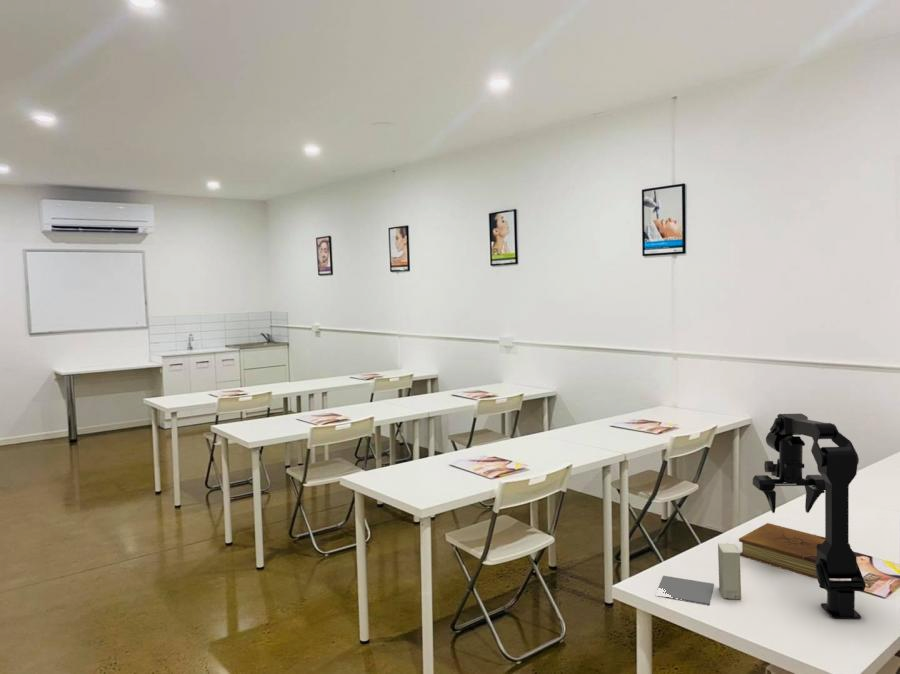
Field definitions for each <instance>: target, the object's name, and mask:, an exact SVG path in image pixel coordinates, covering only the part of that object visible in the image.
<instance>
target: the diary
mask: <svg viewBox="0 0 900 674" xmlns="http://www.w3.org/2000/svg"><path fill="white" fill-rule="evenodd" d="M824 541H825V536H821V535H816V534H813V533H808V532H805V531H801V530H796V529H793V528H789V527H785V526H781V525H776V524H774V523H769V522H767V523H765V524H763V525H761V526H759V527H758V528H755V529H754V530H752V531H749V532H748V533H746V534H745V535H743V536H740V537H739V538H738V542H740V543H741V544H742V545H741V546H742V549H741V551H742V552H741V551H740V557H743V558H746V559H749V558H750V560H753V559H754V560H753V561H756V560H757V561H756V562H759V561H761V562H760V563H764V564H766V563H767V564H766V565H769V564H771V565H770V566H774V567H776V566H777V568H779V567H780V569H783V570H787V571H789V572H793V573H796V574H800V575H803V576H807V577H809V578H813V579H816V580H818V579H817V572H816V566H815V563H816V557H817V548H816V547H817V545H818V544H822V543H823V542H824ZM849 546H850V547H851V544H850V543H849Z"/></svg>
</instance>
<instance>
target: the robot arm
mask: <svg viewBox="0 0 900 674" xmlns="http://www.w3.org/2000/svg"><path fill="white" fill-rule="evenodd" d="M808 417H809V416H807V415H806V414H803V413H778V414H777V415H776V417H775V419H774V421H773V423H772V425H771V426H770V429H769V432H768V433H767V434H766V437H765V443H766V445H768V447H769V448H771V449H773V450H774V451H776V452H777V453H779V458H777V461H776V463H775V462H774V461H773V460H766V461H765V460H764V466H763V467H764V472H765V473H771V474H770V475H771V476H772V477H776V478H771V477H770V476H769V475H768V474H767V475H765V474H763V475H761V474H759V475H757V474H756V475H754V476H753V478H752V486H754V487H755V488H756V489H758V491H761V492H762V493H763V494H764V495H765V497H766V500H767V503H768V505H769V507H770V511H771V513H772V514H776V513H775V512H776V506H777V505H776V503H777V502H776V500H777V499H776V498H777V492H776V490H775V488H776V487H793V486H794V487H796V486H797V487H800V486H801V487H802V486H804V488H805V505H804V507H805V513H807V514H809V513H810V512H811V509H812V508H813V506H814V504H815V503H816V502H817V500H818V499H819V497H820V496H821V494H824V495H825V496H824V499H825V500H824V503H825V506H824V507H825V508H824V509H825V511H824V512H825V513H824V514H825V516H824V518H825V520H824V521H825V524H824V525H825V526H824V530H825V533H824V535H825V536H824V537H825V541H824V542H823V543H822V544H818V545H817V547H816V548H817V557H816V563H815V566H816V572H817V579H816V580H817V582H818V585H819V588H820V589H823V590H825V591H826V603H825V602H822V603H820V607H822V609H824V610H825V611H826V612H827V614H828V615H829V616H830V617H831V618H833V619H862V615H861V614H860V613H858V612H857V611H856V609H855V606H856V605H855V604H856V603H855V601H856V600H855V599H856V596H855V595H856V592H865V591H866V590H865V589H866V587H867V585H866V582H865V580H864V577H863V575H862V572H861V569H860V566H859V564H858V559H857V555H856V554H855V552H854V550H853V549H852V548H851V545H850V546H849V544H850V543H849V542H850V541H849V537H850V536H849V535H850V534H849V533H850V532H849V531H850V529H849V523H850V522H849V520H850V519H849V518H850V517H849V508H850V507H849V503H850V502H849V496H850V495H849V490H850V484H851V483H852V481H853V480H854V479H855V477H856V476H857V472H858V471H857V470H858V465H859V463H860V461H859V460H860V459H859V455H858V453H857V451H856V449H855V447H854V445H853V442H852V441H851V440H850V439H849V438H847V437H846V436H845V435H843V434H842V433H841V432H839V430H838V427H837V426H836V424H834V423H831V422H822V421H817V420H811V419H809V418H808ZM801 436H806V437H811V439H812V440H813V443H812V446H811V450H810V452H811V454H812V456H813V458H814V461H815V462H816V466H817V467H816V468H817V471H818V473H819V474H807V475H806V476H805V478H803V469H805V463H803V447H805V445H806V444H805V441H804V440H803V439H802V437H801ZM819 440H831V442H833V443H834V444H835V445H836V446H822V447H821V446H820V444H819V443H818V442H819ZM840 579H841V580H840Z"/></svg>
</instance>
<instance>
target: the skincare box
mask: <svg viewBox="0 0 900 674" xmlns="http://www.w3.org/2000/svg"><path fill="white" fill-rule="evenodd" d="M740 553H741V551H740V550H739V548H738V547H737V545H736V544H735V543H717V556H718V557H717V558H718V559H717V560H718V588H719V591H720V593H721V596H722V598H723V599H727V598H728V599H731V600H742V583H741V582H742V581H741V580H742V579H741V556H740Z"/></svg>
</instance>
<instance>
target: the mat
mask: <svg viewBox="0 0 900 674" xmlns="http://www.w3.org/2000/svg"><path fill="white" fill-rule="evenodd" d="M714 587H715V584H714V583H712V582H705V581H700V580H699V581H698V580H692V579H689V578H688V579H687V578H680V577H673V576H667V575H662V577H661V580H660V582H659V585H658V588H661V589H662V588H663V590H664V589H665V590H666V592H665V594H666V593H667V594H669V595H671V597H673V598H678V599H682V600H686V601H685V602H688V601H690V602H689V603H694V602H696V604H699V603H702V604H701V605H705V604H707V605H706V606H710V605H711V601H710V600H711V599H712V596H713V592H714ZM658 588H657V589H658ZM665 590H664V591H665ZM663 593H664V592H663ZM682 600H681V601H682Z"/></svg>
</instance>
